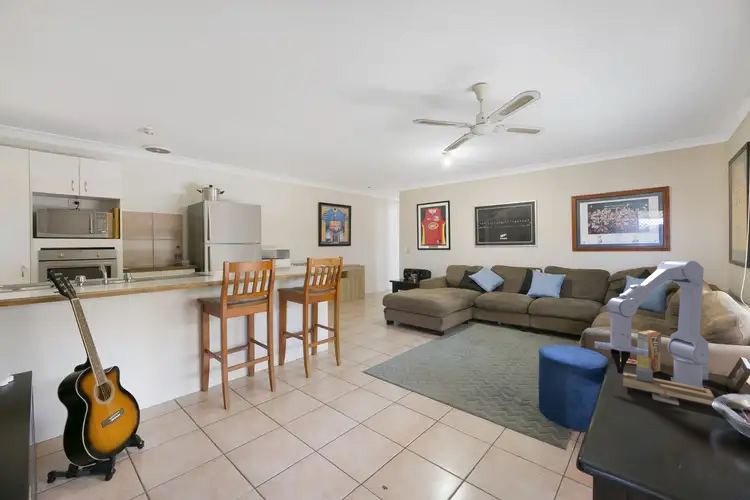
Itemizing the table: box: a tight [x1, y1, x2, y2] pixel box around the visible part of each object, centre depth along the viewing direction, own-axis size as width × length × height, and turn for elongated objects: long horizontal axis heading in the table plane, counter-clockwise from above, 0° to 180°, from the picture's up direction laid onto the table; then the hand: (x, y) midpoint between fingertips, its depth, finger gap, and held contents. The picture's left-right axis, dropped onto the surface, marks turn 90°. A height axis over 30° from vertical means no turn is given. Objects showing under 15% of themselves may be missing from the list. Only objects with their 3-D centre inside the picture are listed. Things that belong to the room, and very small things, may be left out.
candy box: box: [636, 329, 662, 373], centre depth 125 cm, size 9×4×15 cm, turn 116°
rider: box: [635, 365, 654, 383], centre depth 106 cm, size 5×4×4 cm
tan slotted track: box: [622, 371, 715, 406], centre depth 102 cm, size 9×21×4 cm, turn 51°
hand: (620, 372), depth 110 cm, fingers closed
